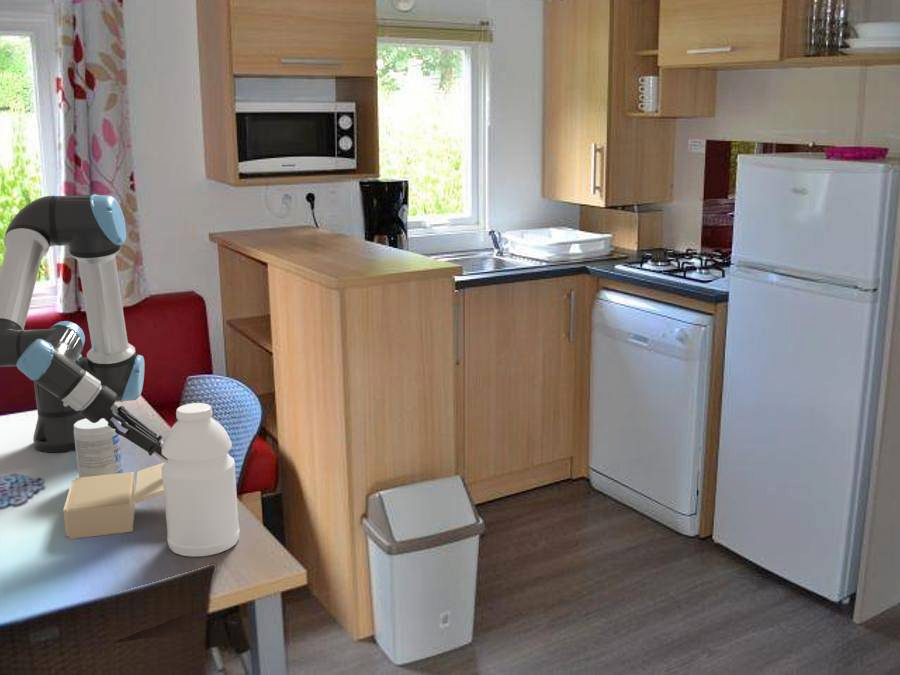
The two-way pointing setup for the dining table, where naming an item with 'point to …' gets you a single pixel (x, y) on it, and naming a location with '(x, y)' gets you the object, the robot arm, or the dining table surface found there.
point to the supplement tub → (97, 448)
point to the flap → (149, 483)
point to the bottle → (199, 484)
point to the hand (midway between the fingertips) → (181, 464)
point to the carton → (100, 505)
